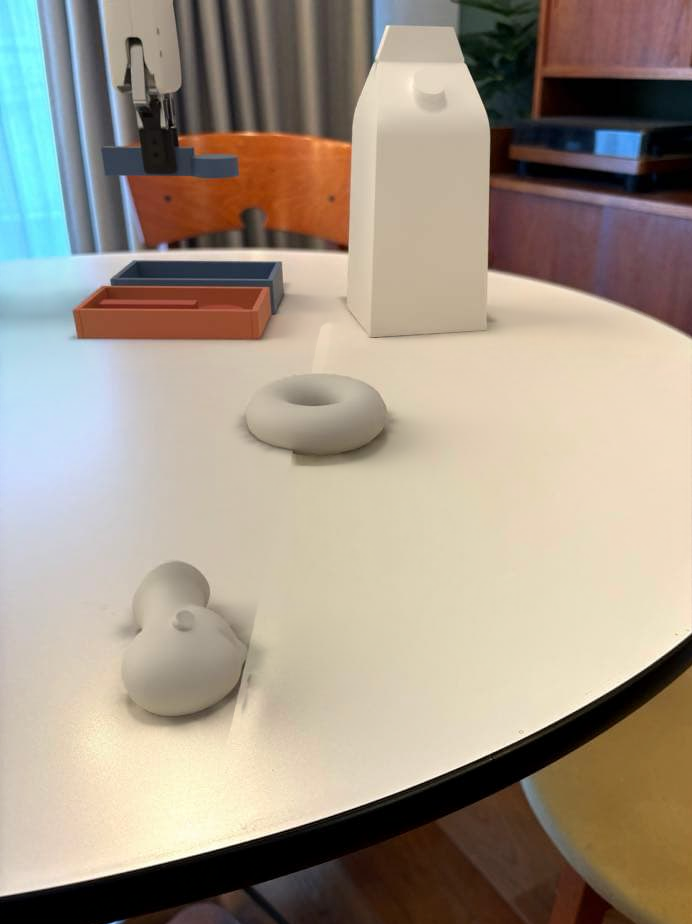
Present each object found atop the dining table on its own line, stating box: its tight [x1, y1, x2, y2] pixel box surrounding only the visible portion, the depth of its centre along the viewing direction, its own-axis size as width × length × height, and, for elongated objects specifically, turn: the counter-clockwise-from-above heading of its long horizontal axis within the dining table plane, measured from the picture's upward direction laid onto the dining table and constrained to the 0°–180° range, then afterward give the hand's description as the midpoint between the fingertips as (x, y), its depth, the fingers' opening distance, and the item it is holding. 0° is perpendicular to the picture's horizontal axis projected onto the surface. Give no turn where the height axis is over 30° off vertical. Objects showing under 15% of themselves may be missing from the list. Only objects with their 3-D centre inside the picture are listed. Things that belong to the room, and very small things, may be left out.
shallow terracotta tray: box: [99, 300, 244, 310], centre depth 80 cm, size 14×5×3 cm, turn 92°
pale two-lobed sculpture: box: [120, 559, 248, 717], centre depth 36 cm, size 4×8×5 cm
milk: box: [346, 24, 491, 338], centre depth 80 cm, size 12×12×26 cm
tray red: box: [72, 285, 272, 340], centre depth 80 cm, size 17×9×4 cm, turn 91°
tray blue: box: [109, 259, 285, 315], centre depth 90 cm, size 17×9×4 cm, turn 91°
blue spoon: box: [100, 145, 240, 179], centre depth 85 cm, size 14×5×3 cm, turn 92°
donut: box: [245, 373, 388, 457], centre depth 59 cm, size 10×4×10 cm
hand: (163, 170), depth 85 cm, fingers closed on blue spoon, 1 cm apart
